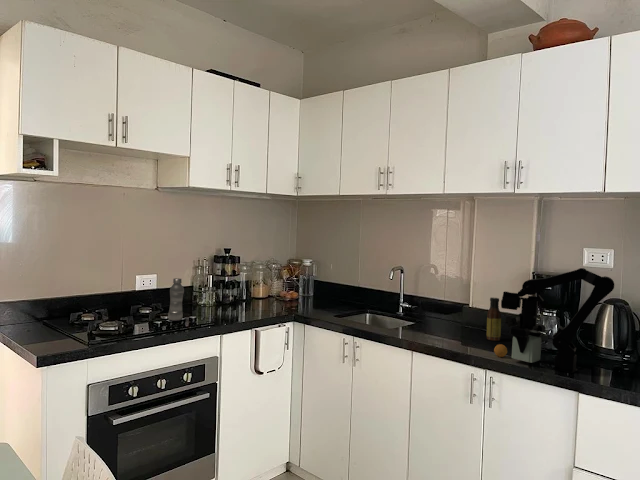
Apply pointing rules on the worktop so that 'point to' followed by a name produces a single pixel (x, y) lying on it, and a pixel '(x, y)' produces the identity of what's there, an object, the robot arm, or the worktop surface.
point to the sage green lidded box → (527, 350)
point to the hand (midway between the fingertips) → (526, 351)
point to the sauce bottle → (494, 320)
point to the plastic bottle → (176, 300)
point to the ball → (500, 350)
